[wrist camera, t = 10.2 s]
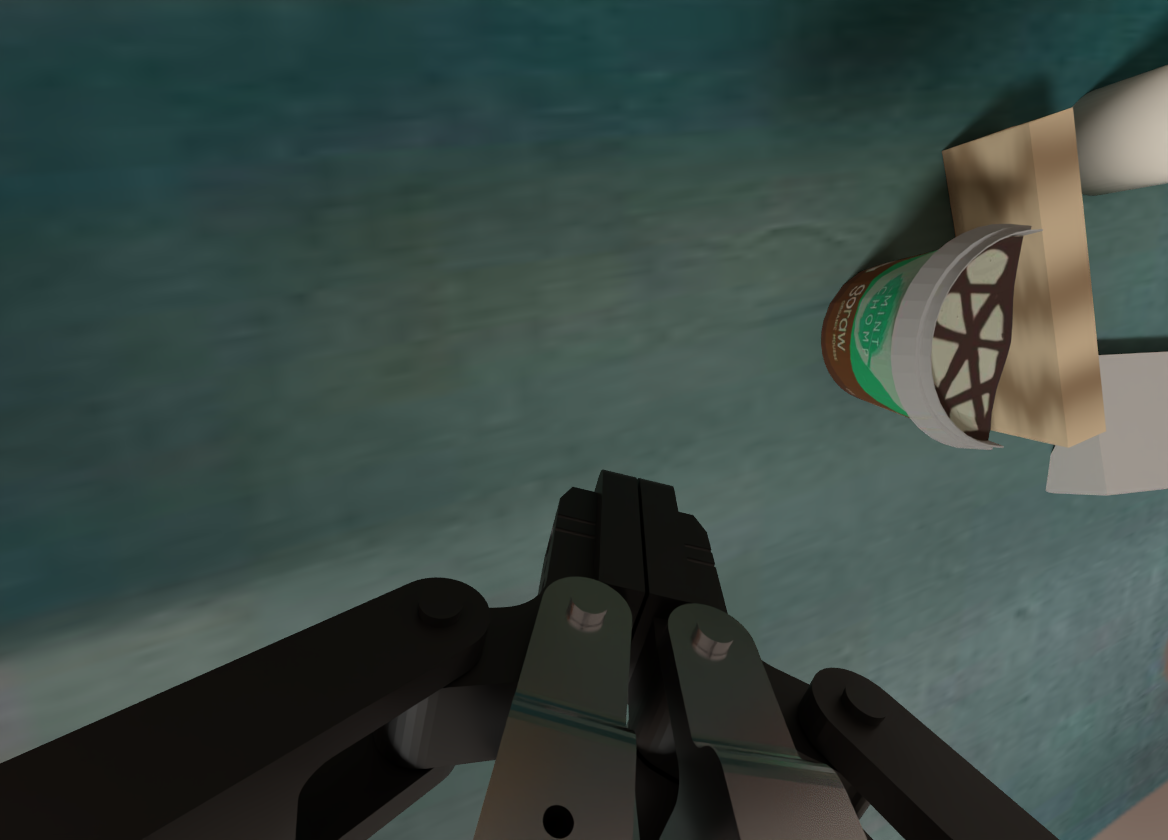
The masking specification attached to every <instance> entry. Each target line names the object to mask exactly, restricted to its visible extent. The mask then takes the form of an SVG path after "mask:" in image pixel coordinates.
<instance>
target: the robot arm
mask: <svg viewBox="0 0 1168 840" xmlns="http://www.w3.org/2000/svg"><path fill="white" fill-rule="evenodd" d="M714 565H715V562H714V559H713V555H712V553H711V547H710V543H709V539H708V535H707V532H706V531H705V529H704V528H703V527H702V526H701V524H700V523H699V522H698V521H697V519H696V518H695V517H694V516H693V515H690V514H686V513H682V512H678V507H677V502H676V497H675V491H674V487H673V486H670V485H666V484H661V483H657V482H653V481H649V480H645V479H641V478H638V479H637V478H636V477H632V476H628V475H623V474H619V473H615V472H611V471H607V470H601V472H600V475H599V478H598V481H597V485H596V488H595V491H594V492H592V491H588V490H584V489H580V488H576V487H572V488H571V489H570V490H569V491H567V492H566V493H565V494H564V495H563V496H562V497H561V498H560V501H559V505H558V509H557V512H556V516H555V520H554V524H553V528H552V531H551V535H550V539H549V543H548V546H547V550H546V554H545V558H544V563H543V569H542V574H541V580H540V585H539V592H538V596H536V597H535V598H534V599H532V600H530V601H528V602H526V603H524V604H521V605H517V606H512V607H501V608H489V607H488V604H487V602H486V601H485V599H484V597H483V596H482V595H481V594H480V593H479V592H478V591H477V590H475V589H474V588H473V587H471V586H469V585H467V584H465V583H463V582H460V581H457V580H453V579H448V578H425V579H421V580H417V581H414V582H411V583H409V584H406V585H404V586H402V587H400V588H397V589H395V590H393V591H391V592H388V593H386V594H384V595H382V596H379V597H377V598H375V599H372V600H370V601H368V602H366V603H363V604H361V605H359V606H357V607H354V608H352V609H350V610H348V611H345V612H343V613H341V614H338V615H336V616H334V617H332V618H329V619H327V620H325V621H323V622H320V623H318V624H316V625H314V626H311V627H309V628H307V629H304V630H302V631H300V632H298V633H295V634H293V635H291V636H289V637H286V638H284V639H282V640H279V641H277V642H275V643H273V644H270V645H268V646H266V647H264V648H261V649H259V650H257V651H255V652H252V653H250V654H248V655H245V656H243V657H241V658H239V659H236V660H234V661H232V662H230V663H227V664H225V665H223V666H221V667H218V668H216V669H214V670H211V671H209V672H207V673H205V674H202V675H200V676H198V677H196V678H193V679H191V680H189V681H187V682H184V683H182V684H180V685H177V686H175V687H173V688H171V689H168V690H166V691H164V692H162V693H159V694H157V695H155V696H153V697H150V698H148V699H146V700H143V701H141V702H139V703H137V704H134V705H132V706H130V707H128V708H125V709H123V710H121V711H118V712H116V713H114V714H112V715H109V716H107V717H105V718H103V719H100V720H98V721H96V722H94V723H91V724H89V725H87V726H84V727H82V728H80V729H78V730H75V731H73V732H71V733H69V734H66V735H64V736H62V737H60V738H57V739H55V740H53V741H50V742H48V743H46V744H44V745H41V746H39V747H37V748H35V749H32V750H30V751H28V752H26V753H23V754H21V755H19V756H16V757H14V758H12V759H10V760H7V761H5V762H3V763H1V764H0V840H367V839H368V838H369V837H371V836H372V835H373V834H375V833H376V832H377V831H378V830H380V829H381V828H382V827H384V826H385V825H386V824H387V823H389V822H390V821H391V820H393V819H394V818H395V817H396V816H398V815H399V814H400V813H402V812H403V811H404V810H405V809H407V808H408V807H409V806H411V805H412V804H413V803H414V802H416V801H417V800H418V799H420V798H421V797H422V796H423V795H425V794H426V793H427V792H428V791H430V790H431V789H432V788H434V787H435V786H436V785H437V784H439V783H440V782H441V781H443V780H444V779H445V778H446V777H447V776H448V775H449V774H450V772H451V771H452V770H453V768H454V766H455V765H458V764H466V763H474V762H482V761H489V760H496V761H495V764H494V768H493V771H492V775H491V778H490V782H489V785H488V789H487V793H486V796H485V800H484V803H483V807H482V810H481V814H480V817H479V821H478V824H477V828H476V831H475V835H474V838H473V840H873V839H872V838H871V837H870V836H869V835H868V834H867V833H866V832H865V831H864V830H863V829H862V826H861V824H860V822H859V820H860V818H861V817H862V815H863V814H864V813H865V811H866V810H867V808H868V807H869V805H870V804H871V805H872V806H873V807H874V808H875V809H876V810H877V811H878V812H879V813H880V814H881V815H882V816H883V817H884V818H885V819H886V820H887V821H888V822H889V823H890V824H891V825H892V826H893V828H894V829H895V830H896V831H897V832H898V833H899V834H900V835H901V836H902V837H903V838H904V839H905V840H1059V839H1058V838H1057V837H1055V836H1054V835H1053V834H1052V833H1051V832H1050V831H1048V830H1047V829H1046V828H1045V827H1044V826H1043V825H1041V824H1040V823H1039V822H1038V821H1037V820H1036V819H1034V818H1033V817H1032V816H1031V815H1030V814H1028V813H1027V812H1026V811H1025V810H1024V809H1023V808H1021V807H1020V806H1019V805H1018V804H1017V803H1016V802H1014V801H1013V800H1012V799H1011V798H1010V797H1008V796H1007V795H1006V794H1005V793H1004V792H1003V791H1001V790H1000V789H999V788H998V787H997V786H996V785H994V784H993V783H992V782H991V781H990V780H989V779H987V778H986V777H985V776H984V775H983V774H981V773H980V772H979V771H978V770H977V769H976V768H974V767H973V766H972V765H971V764H970V763H969V762H967V761H966V760H965V759H964V758H963V757H962V756H960V755H959V754H958V753H957V752H956V751H954V750H953V749H952V748H951V747H950V746H949V745H947V744H946V743H945V742H944V741H943V740H942V739H940V738H939V737H938V736H937V735H936V734H935V733H933V732H932V731H931V730H930V729H929V728H927V727H926V726H925V725H924V724H923V723H922V722H920V721H919V720H918V719H917V718H916V717H915V716H913V715H912V714H911V713H910V712H909V711H908V710H906V709H905V708H904V707H903V706H902V705H900V704H899V703H898V702H897V701H896V700H895V699H893V698H892V697H891V696H890V695H889V694H888V693H886V692H885V691H884V690H883V689H881V688H880V687H879V686H878V685H876V684H875V683H873V682H872V681H870V680H869V679H867V678H865V677H863V676H861V675H859V674H857V673H854V672H852V671H849V670H845V669H840V668H826V669H823V670H820V671H819V672H818V673H816V675H815V676H814V678H813V680H812V681H811V683H810V685H809V684H807V683H805V682H803V681H801V680H799V679H797V678H795V677H793V676H790V675H788V674H786V673H784V672H782V671H780V670H778V669H776V668H774V667H772V666H770V665H768V664H767V663H765V662H764V661H762V660H761V658H760V655H759V652H758V650H757V647H756V645H755V642H754V640H753V638H752V637H751V635H750V634H749V632H748V631H747V630H746V629H745V628H744V626H743V625H742V624H740V623H739V622H738V621H737V620H736V619H734V618H733V617H732V616H730V615H729V614H728V613H727V609H726V606H725V602H724V598H723V594H722V590H721V586H720V582H719V578H718V574H717V570H716V567H714ZM627 704H628V705H629V720H628V723H627V725H626V712H627Z"/></svg>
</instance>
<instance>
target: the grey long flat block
mask: <svg viewBox="0 0 1168 840" xmlns="http://www.w3.org/2000/svg"><path fill="white" fill-rule="evenodd" d="M1098 356H1099V365H1100V375H1101V385H1102V394H1103V404H1104V414H1105V424H1106V431H1105V432H1103V433H1101V434H1099V435H1096V436H1094V437H1092V438H1090V439H1087V440H1085V441H1083V442H1081V443H1078V444H1076V445H1074V446H1072V447H1069V448H1067V447H1063V446H1058V445H1055V448H1054V450H1053V451H1052V453H1051V457H1050V465H1049V472H1048V479H1047V486H1046V491H1047V492H1050V493H1062V494H1086V495H1115V494H1123V493H1132V492H1141V491H1150V490H1159V489H1167V488H1168V352H1151V353H1133V354H1114V355H1098Z"/></svg>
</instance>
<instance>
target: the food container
mask: <svg viewBox="0 0 1168 840" xmlns="http://www.w3.org/2000/svg"><path fill="white" fill-rule="evenodd" d="M1031 227H1032V226H1029V225H1017V224H991V225H987V226H982V227H977V228H975V229H972V230H970V231H967V232H965V233H962V234H960V235H959V236H957V237H955V238H954V239H952V240H950V241H949V242H947V243H946V244H945V245H944V246H942V247H941V248H940V249H939V250H936V251H932V252H928V253H924V254H920V255H916V256H912V257H908V258H904V259H900V260H896V261H892V262H888V263H884V264H880V265H877V266H875V267H872V268H869V269H866V270H864V271H861V272H859V273H858V274H857V275H856V276H854V277H853V278H852V279H850V280H849V281H848V282H847V283H845V284H844V285H843V286H842V287H841V289H840V290H839V292H838V293H837V294H836V296H835V297H834V299H833V300H832V301H831V303H830V305H829V307H828V310H827V313H826V315H825V318H824V321H823V326H822V332H821V347H822V355H823V358H824V362H825V365H826V367H827V369H828V372H829V374H830V375H831V377H832V378H833V380H834V381H835V382H836V383H837V384H838V385H839V386H840V387H841V388H842V389H843V390H844V391H846V392H847V393H849V394H850V395H852V396H855V397H857V398H859V399H862V400H864V401H867V402H869V403H872V404H874V405H877V406H880V407H882V408H885V409H887V410H890V411H893V412H895V413H898V414H900V415H903V416H905V417H908V418H911V420H912V421H913V422H914V423H915V424H916V425H917V426H918V428H919V429H921V430H922V431H923V432H924V433H926V434H927V435H928V436H930V437H931V438H933V439H935V440H937V441H939V442H941V443H943V444H946V445H950V446H953V447H957V448H968V449H986V450H992V447H999V448H1004V446H1001V445H999V444H996V443H994V442H991V441H988V438H989V432H990V429H991V417H992V409H993V405H994V400H995V395H996V390H997V387H998V383H999V380H1000V377H1001V374H1002V371H1003V368H1004V365H1005V362H1006V359H1007V356H1008V352H1009V349H1010V345H1011V338H1012V326H1013V297H1014V285H1015V279H1016V273H1017V268H1018V262H1019V256H1020V251H1021V246H1022V241H1023V236H1024V235H1028V234H1032V233H1036V232H1040V231H1043V229H1034V230H1031Z"/></svg>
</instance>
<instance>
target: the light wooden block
mask: <svg viewBox="0 0 1168 840" xmlns="http://www.w3.org/2000/svg"><path fill="white" fill-rule="evenodd" d="M942 154H943V160H944V167H945V173H946V179H947V185H948V192H949V198H950V204H951V210H952V217H953V223H954V229H955V236H956V237H957V236H959V235H960V234H962V233H965V232H967V231H970V230H972V229H975V228H977V227H982V226H987V225H991V224H1017V225H1029V226H1032V227H1031V230H1034V229H1043V231H1040V232H1036V233H1032V234H1028V235H1024V236H1023V241H1022V246H1021V251H1020V256H1019V262H1018V268H1017V273H1016V279H1015V285H1014V297H1013V326H1012V338H1011V345H1010V349H1009V352H1008V356H1007V359H1006V362H1005V365H1004V368H1003V371H1002V374H1001V377H1000V380H999V383H998V387H997V390H996V395H995V400H994V405H993V409H992V417H991V429H990V430H993V431H997V432H1001V433H1006V434H1010V435H1014V436H1019V437H1023V438H1028V439H1032V440H1036V441H1041V442H1045V443H1049V444H1054V445H1058V446H1063V447H1067V448H1069V447H1072V446H1074V445H1076V444H1078V443H1081V442H1083V441H1085V440H1087V439H1090V438H1092V437H1094V436H1096V435H1099V434H1101V433H1103V432H1105V431H1106V424H1105V414H1104V404H1103V394H1102V385H1101V375H1100V365H1099V356H1098V346H1097V336H1096V327H1095V317H1094V307H1093V297H1092V288H1091V278H1090V268H1089V259H1088V249H1087V239H1086V230H1085V220H1084V210H1083V200H1082V191H1081V181H1080V171H1079V162H1078V152H1077V142H1076V132H1075V123H1074V113H1073V107H1072V108H1069V109H1066V110H1063V111H1060V112H1057V113H1054V114H1051V115H1048V116H1045V117H1042V118H1039V119H1036V120H1033V121H1030V122H1027V123H1024V124H1021V125H1018V126H1013V127H1010V128H1007V129H1004V130H1001V131H998V132H996V133H993V134H990V135H987V136H984V137H981V138H978V139H975V140H973V141H970V142H967V143H964V144H961V145H958V146H955V147H952V148H950V149H947V150H944V151H942Z"/></svg>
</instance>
